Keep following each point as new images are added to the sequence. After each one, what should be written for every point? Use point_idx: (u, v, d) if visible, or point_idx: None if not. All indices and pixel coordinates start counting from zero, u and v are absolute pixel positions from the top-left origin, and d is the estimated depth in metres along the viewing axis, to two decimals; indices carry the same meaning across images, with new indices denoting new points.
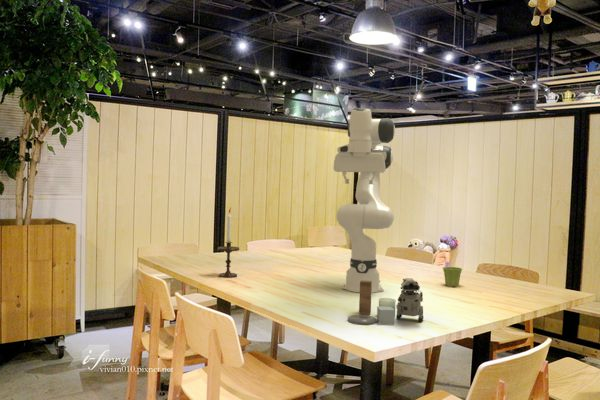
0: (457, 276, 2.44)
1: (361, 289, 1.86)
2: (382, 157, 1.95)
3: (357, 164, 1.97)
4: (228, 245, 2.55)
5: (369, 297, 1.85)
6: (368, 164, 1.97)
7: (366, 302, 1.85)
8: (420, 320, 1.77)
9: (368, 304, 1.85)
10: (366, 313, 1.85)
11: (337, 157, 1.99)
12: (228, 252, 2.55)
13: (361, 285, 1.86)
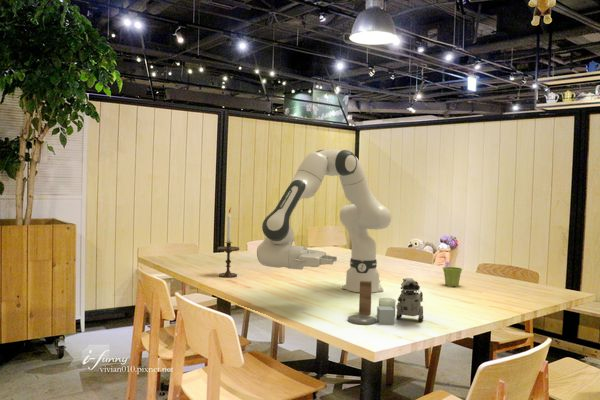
0: (457, 276, 2.44)
1: (361, 289, 1.86)
2: (302, 265, 1.83)
3: None
4: (228, 245, 2.55)
5: (369, 297, 1.85)
6: None
7: (366, 302, 1.85)
8: (420, 320, 1.77)
9: (368, 304, 1.85)
10: (366, 313, 1.85)
11: None
12: (228, 252, 2.55)
13: (361, 285, 1.86)
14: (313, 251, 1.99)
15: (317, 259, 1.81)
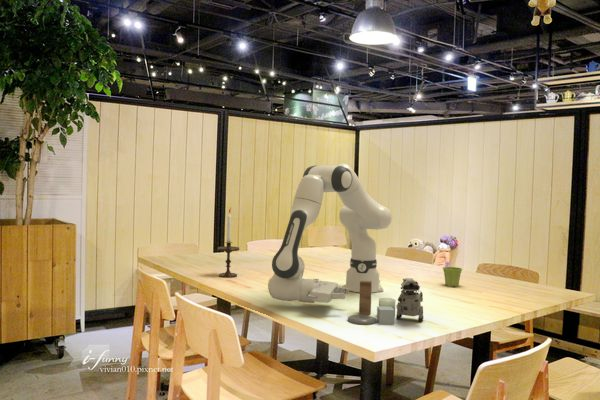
0: (457, 276, 2.44)
1: (361, 289, 1.86)
2: (314, 301, 1.82)
3: None
4: (228, 245, 2.55)
5: (369, 297, 1.85)
6: None
7: (366, 302, 1.85)
8: (420, 320, 1.77)
9: (368, 304, 1.85)
10: (366, 313, 1.85)
11: None
12: (228, 252, 2.55)
13: (361, 285, 1.86)
14: (324, 282, 1.98)
15: (329, 294, 1.81)
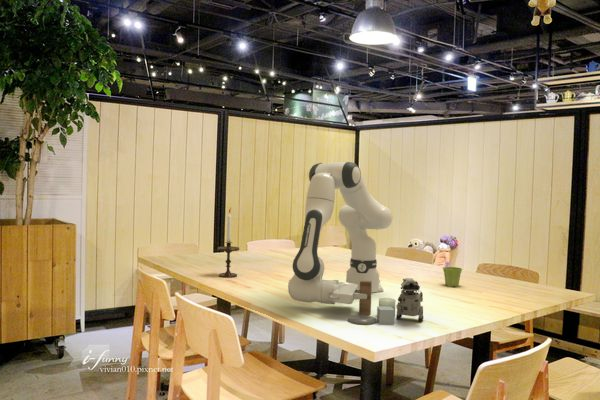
0: (457, 276, 2.44)
1: (361, 289, 1.86)
2: (336, 302, 1.81)
3: None
4: (228, 245, 2.55)
5: (369, 297, 1.85)
6: None
7: (366, 302, 1.85)
8: (420, 320, 1.77)
9: (368, 304, 1.85)
10: (366, 313, 1.85)
11: None
12: (228, 252, 2.55)
13: (361, 285, 1.86)
14: (344, 283, 1.97)
15: (351, 296, 1.79)
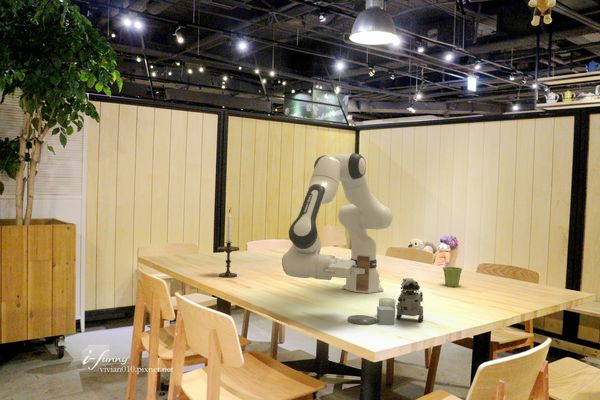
0: (457, 276, 2.44)
1: (358, 264, 1.76)
2: (331, 276, 1.71)
3: None
4: (228, 245, 2.55)
5: (367, 272, 1.75)
6: None
7: (363, 278, 1.75)
8: (420, 320, 1.77)
9: (366, 280, 1.75)
10: (364, 289, 1.75)
11: None
12: (228, 252, 2.55)
13: (358, 259, 1.76)
14: (341, 260, 1.87)
15: (347, 269, 1.69)
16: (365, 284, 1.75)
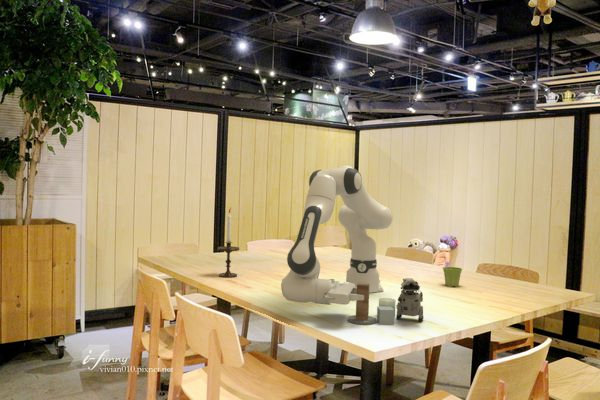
0: (457, 276, 2.44)
1: (358, 292, 1.75)
2: (331, 302, 1.70)
3: None
4: (228, 245, 2.55)
5: (366, 301, 1.74)
6: None
7: (363, 307, 1.75)
8: (420, 320, 1.77)
9: (365, 308, 1.74)
10: (364, 318, 1.75)
11: None
12: (228, 252, 2.55)
13: (358, 288, 1.75)
14: (341, 283, 1.86)
15: (347, 296, 1.68)
16: (365, 313, 1.75)
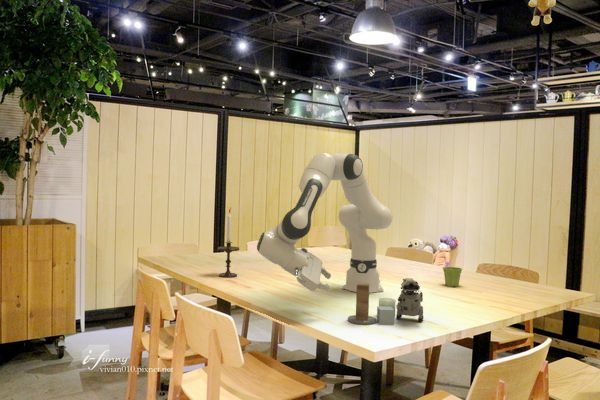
0: (457, 276, 2.44)
1: (358, 293, 1.75)
2: (300, 282, 1.75)
3: None
4: (228, 245, 2.55)
5: (366, 301, 1.74)
6: None
7: (363, 307, 1.75)
8: (420, 320, 1.77)
9: (365, 309, 1.74)
10: (364, 318, 1.75)
11: None
12: (228, 252, 2.55)
13: (358, 288, 1.75)
14: (311, 256, 1.90)
15: (317, 285, 1.74)
16: (365, 313, 1.74)
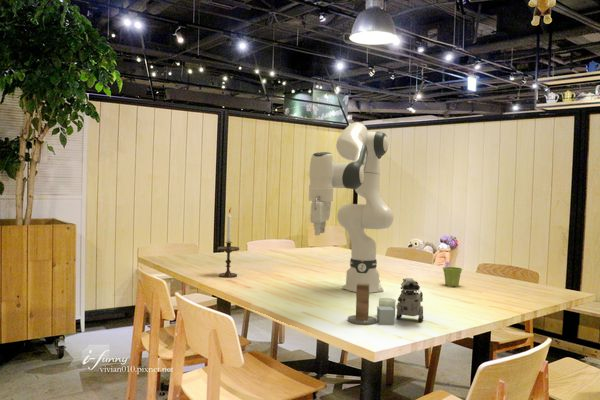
0: (457, 276, 2.44)
1: (358, 293, 1.75)
2: (311, 206, 1.77)
3: None
4: (228, 245, 2.55)
5: (366, 301, 1.74)
6: None
7: (363, 307, 1.75)
8: (420, 320, 1.77)
9: (365, 309, 1.74)
10: (364, 318, 1.75)
11: None
12: (228, 252, 2.55)
13: (358, 288, 1.75)
14: (329, 207, 1.92)
15: (318, 222, 1.76)
16: (365, 313, 1.74)
